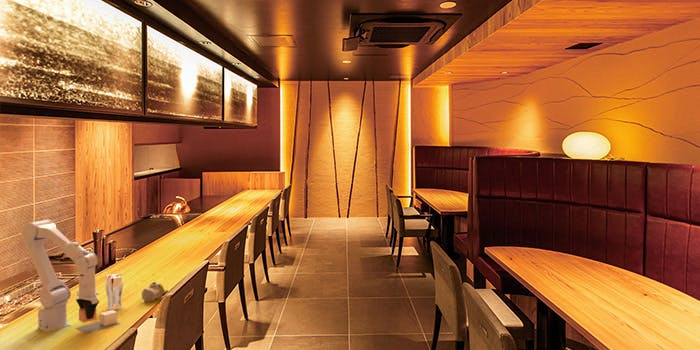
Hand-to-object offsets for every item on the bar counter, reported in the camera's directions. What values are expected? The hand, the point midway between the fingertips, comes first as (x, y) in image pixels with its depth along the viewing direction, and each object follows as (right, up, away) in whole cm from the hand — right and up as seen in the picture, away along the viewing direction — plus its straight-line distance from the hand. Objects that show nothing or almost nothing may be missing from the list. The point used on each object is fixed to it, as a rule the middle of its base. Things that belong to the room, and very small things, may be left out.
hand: (87, 317), depth 186 cm
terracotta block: (0, -1, 0) cm, 1 cm away
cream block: (+5, -5, +6) cm, 9 cm away
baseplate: (+3, -5, +3) cm, 7 cm away
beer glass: (-2, -4, +25) cm, 25 cm away
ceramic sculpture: (+11, -3, +39) cm, 40 cm away
